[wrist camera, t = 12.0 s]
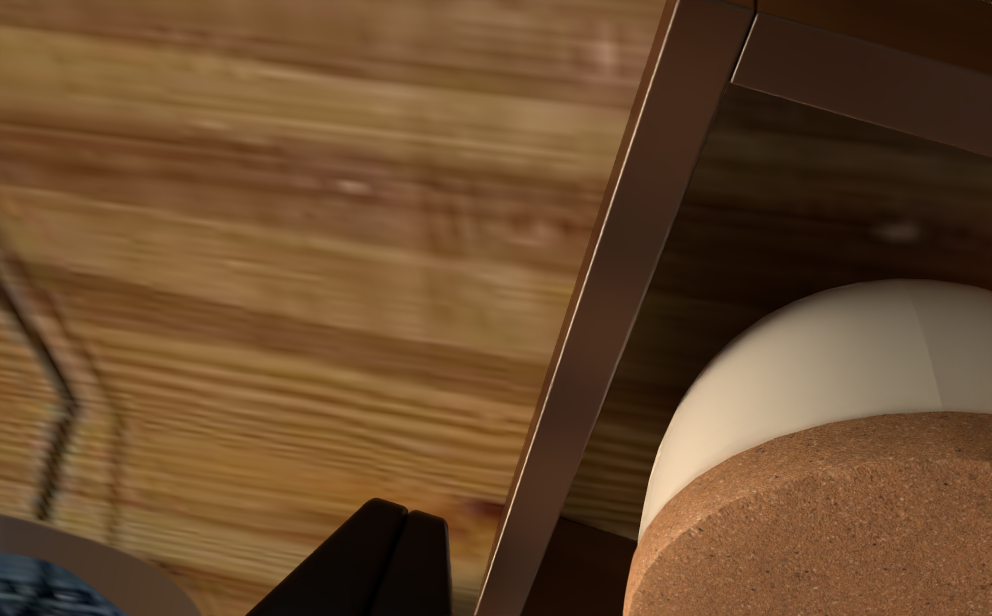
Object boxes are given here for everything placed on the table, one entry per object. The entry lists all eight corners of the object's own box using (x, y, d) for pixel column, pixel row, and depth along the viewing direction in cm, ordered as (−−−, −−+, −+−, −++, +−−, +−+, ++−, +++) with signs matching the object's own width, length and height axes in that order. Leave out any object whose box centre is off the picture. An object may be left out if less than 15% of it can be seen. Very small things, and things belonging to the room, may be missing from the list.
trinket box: (672, 524, 26) (643, 869, 19) (632, 206, 20) (568, 531, 13) (1091, 541, 23) (1252, 961, 16) (1191, 171, 17) (1525, 572, 10)
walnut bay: (846, 633, 27) (859, 761, 24) (498, 524, 28) (466, 635, 25) (1302, 87, 16) (1437, 199, 13) (691, -79, 16) (679, -11, 13)
